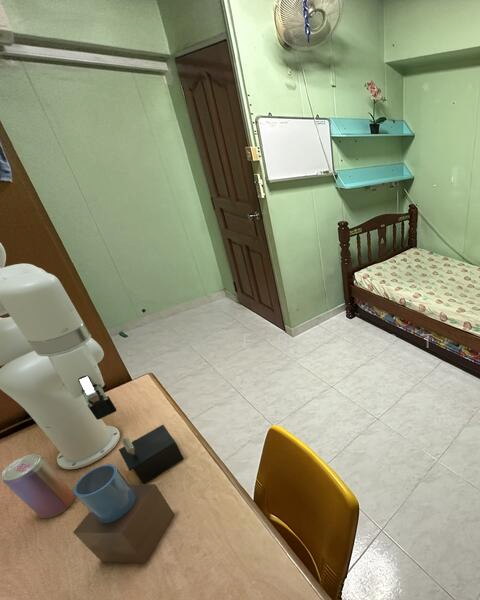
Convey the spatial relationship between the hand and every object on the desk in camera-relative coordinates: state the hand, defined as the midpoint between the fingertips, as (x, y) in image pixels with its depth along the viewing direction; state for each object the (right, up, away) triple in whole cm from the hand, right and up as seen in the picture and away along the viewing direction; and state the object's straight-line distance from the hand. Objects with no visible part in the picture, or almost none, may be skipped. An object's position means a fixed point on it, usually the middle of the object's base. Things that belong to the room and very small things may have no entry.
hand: (102, 402), depth 67 cm
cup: (+8, -19, -6) cm, 21 cm away
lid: (0, -15, +12) cm, 19 cm away
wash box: (+1, -21, +15) cm, 25 cm away
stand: (+8, -29, 0) cm, 30 cm away
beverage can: (-15, -26, +5) cm, 31 cm away
